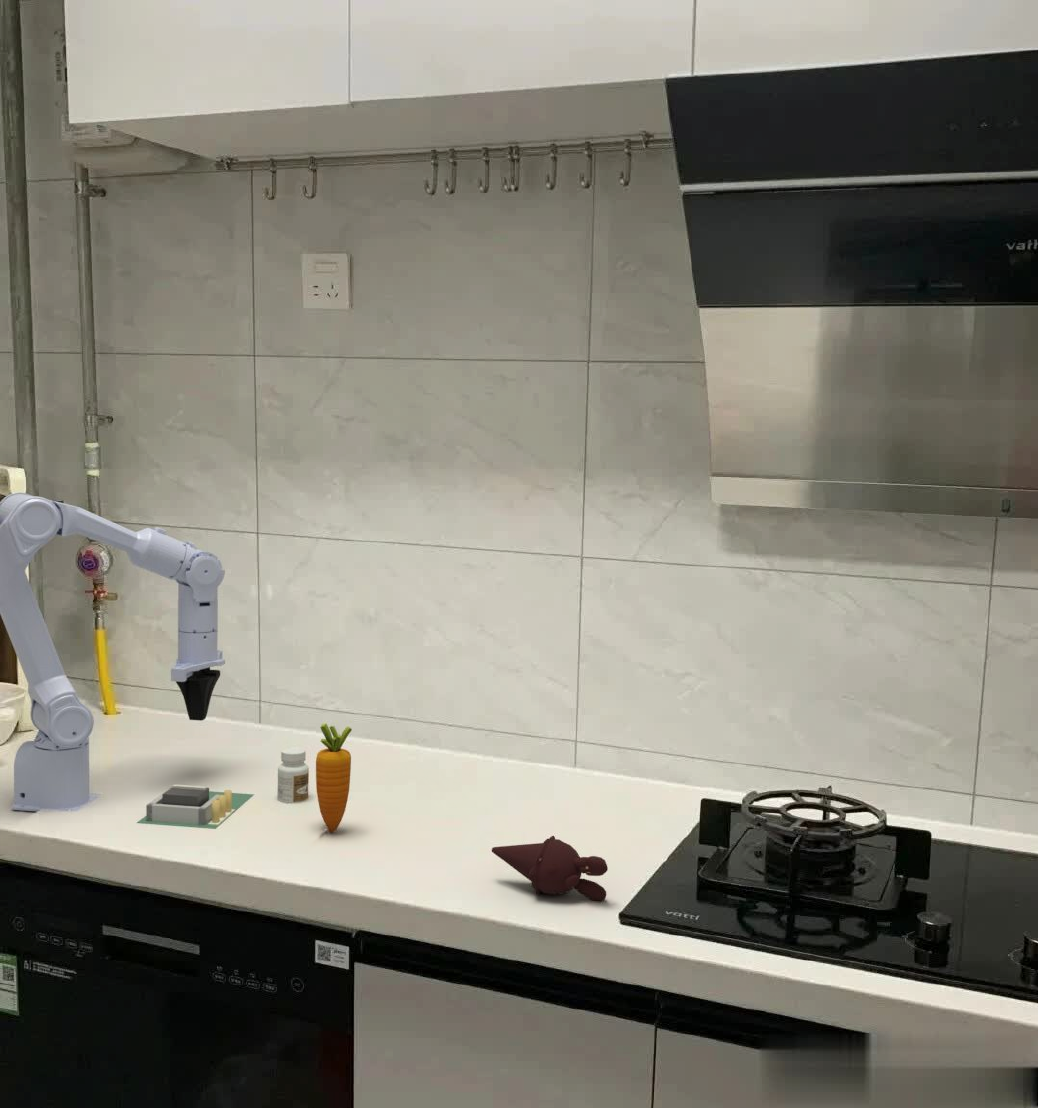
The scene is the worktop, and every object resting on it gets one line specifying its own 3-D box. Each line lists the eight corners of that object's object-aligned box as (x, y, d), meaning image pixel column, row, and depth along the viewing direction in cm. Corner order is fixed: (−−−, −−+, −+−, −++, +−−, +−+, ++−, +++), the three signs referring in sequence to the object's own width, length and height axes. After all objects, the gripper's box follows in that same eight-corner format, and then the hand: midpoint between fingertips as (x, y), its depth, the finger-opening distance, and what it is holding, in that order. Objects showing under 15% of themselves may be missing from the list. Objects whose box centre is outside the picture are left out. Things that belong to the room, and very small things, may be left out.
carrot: (356, 828, 158) (358, 720, 157) (341, 840, 154) (343, 729, 152) (323, 824, 160) (325, 717, 158) (307, 836, 155) (309, 725, 153)
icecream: (477, 841, 137) (596, 875, 131) (505, 809, 143) (619, 840, 137) (478, 889, 140) (594, 925, 134) (505, 856, 146) (617, 889, 140)
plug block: (162, 819, 158) (162, 791, 158) (174, 809, 162) (174, 783, 161) (197, 821, 157) (197, 794, 157) (209, 812, 161) (209, 785, 161)
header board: (136, 826, 156) (136, 800, 156) (181, 793, 171) (181, 769, 171) (215, 832, 155) (215, 806, 155) (254, 798, 170) (254, 774, 169)
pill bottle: (301, 808, 166) (302, 755, 165) (272, 805, 167) (273, 753, 166) (312, 799, 170) (313, 747, 170) (284, 796, 171) (285, 745, 170)
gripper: (204, 639, 166) (203, 733, 167) (241, 623, 180) (240, 709, 182) (157, 637, 167) (157, 729, 168) (197, 621, 181) (197, 706, 182)
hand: (197, 719), depth 175 cm, fingers closed
